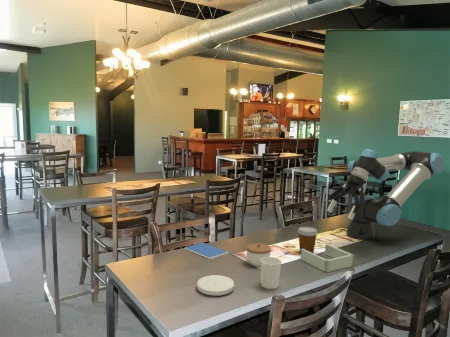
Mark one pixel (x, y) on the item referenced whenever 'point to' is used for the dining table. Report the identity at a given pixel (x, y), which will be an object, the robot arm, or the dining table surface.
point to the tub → (338, 262)
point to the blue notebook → (206, 250)
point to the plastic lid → (215, 285)
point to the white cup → (270, 272)
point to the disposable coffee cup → (307, 238)
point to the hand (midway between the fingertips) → (339, 215)
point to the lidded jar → (257, 253)
